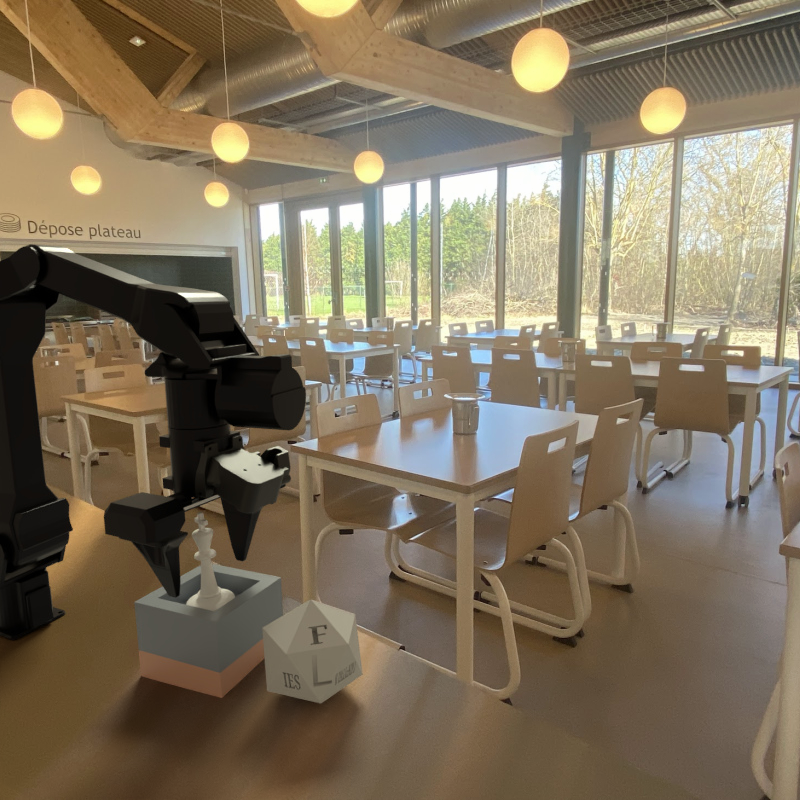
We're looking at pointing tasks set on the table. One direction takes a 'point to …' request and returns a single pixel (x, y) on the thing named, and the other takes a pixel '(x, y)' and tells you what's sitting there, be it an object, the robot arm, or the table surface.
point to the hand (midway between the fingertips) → (209, 577)
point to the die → (311, 652)
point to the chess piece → (207, 571)
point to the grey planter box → (207, 631)
